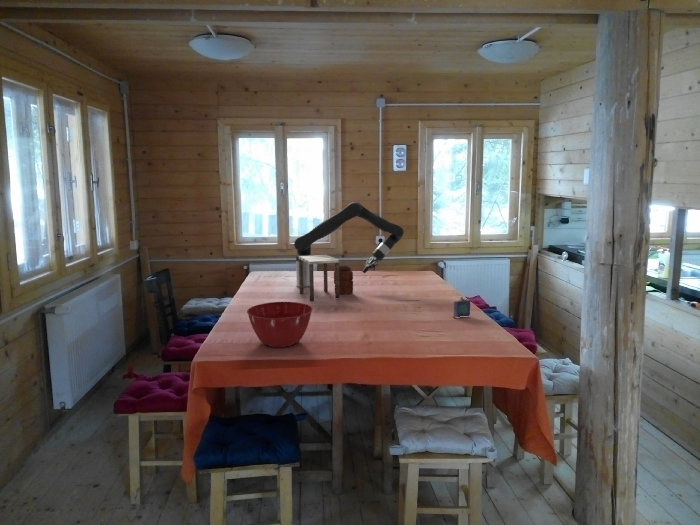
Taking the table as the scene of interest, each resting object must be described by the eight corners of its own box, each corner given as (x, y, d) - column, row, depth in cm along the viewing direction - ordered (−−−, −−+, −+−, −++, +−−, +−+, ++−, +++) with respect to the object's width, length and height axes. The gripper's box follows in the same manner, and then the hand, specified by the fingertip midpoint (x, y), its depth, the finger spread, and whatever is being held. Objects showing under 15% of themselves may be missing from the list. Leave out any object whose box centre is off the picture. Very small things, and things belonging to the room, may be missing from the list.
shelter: (299, 293, 344) (298, 256, 341) (327, 290, 351) (326, 254, 347) (310, 301, 322) (309, 261, 318) (340, 298, 328) (339, 259, 324)
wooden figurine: (352, 292, 345) (352, 264, 342) (353, 294, 339) (353, 265, 336) (334, 292, 345) (333, 264, 342) (334, 295, 338) (333, 266, 336)
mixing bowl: (313, 352, 229) (312, 316, 227) (244, 354, 227) (243, 318, 224) (312, 333, 257) (312, 300, 254) (251, 334, 255) (250, 302, 252)
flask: (455, 318, 280) (455, 298, 278) (452, 317, 282) (452, 297, 281) (470, 317, 283) (471, 297, 281) (467, 316, 285) (468, 295, 284)
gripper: (373, 246, 352) (355, 266, 349) (381, 249, 340) (363, 270, 337) (380, 254, 355) (363, 274, 352) (389, 257, 342) (371, 277, 340)
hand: (363, 272), depth 345 cm, fingers closed
